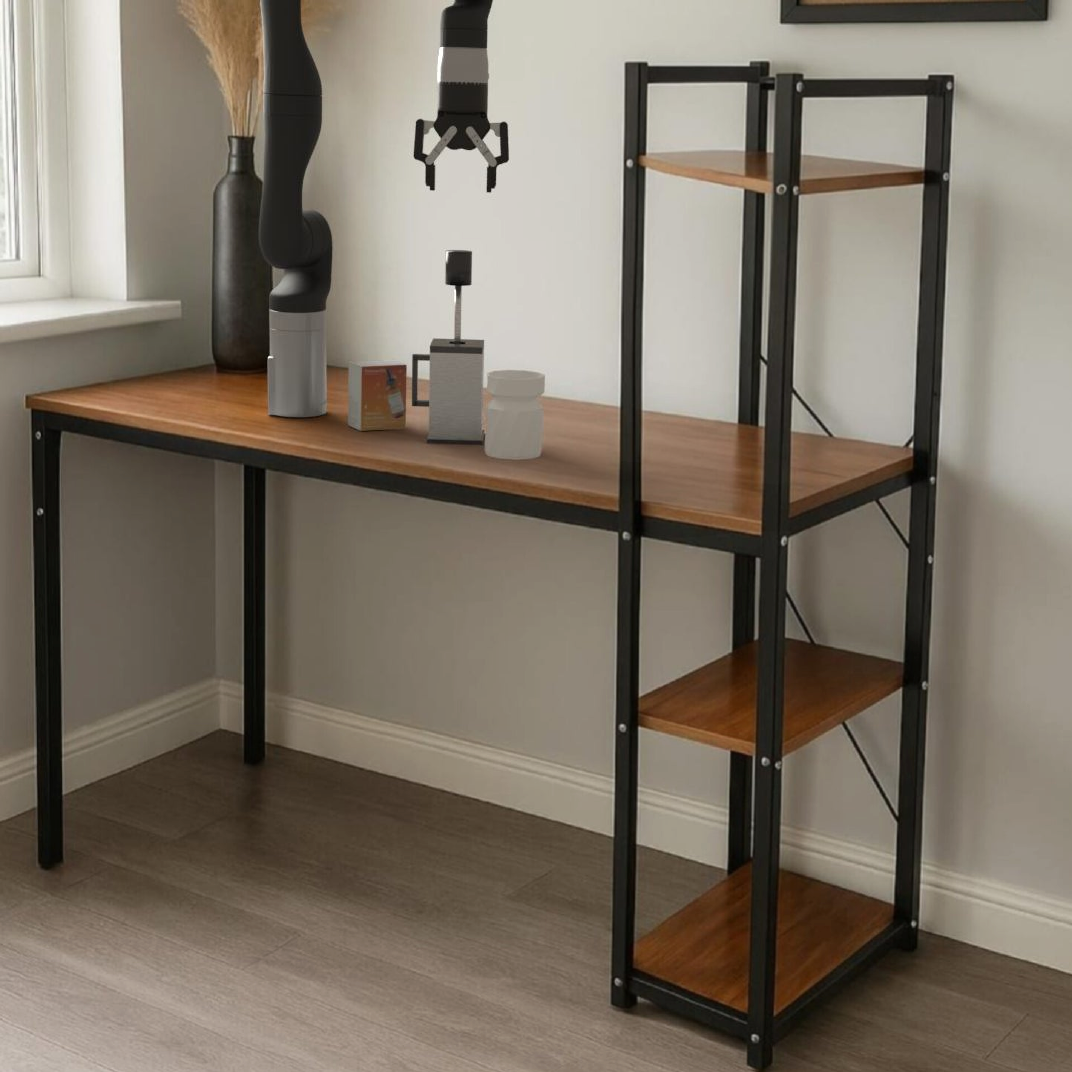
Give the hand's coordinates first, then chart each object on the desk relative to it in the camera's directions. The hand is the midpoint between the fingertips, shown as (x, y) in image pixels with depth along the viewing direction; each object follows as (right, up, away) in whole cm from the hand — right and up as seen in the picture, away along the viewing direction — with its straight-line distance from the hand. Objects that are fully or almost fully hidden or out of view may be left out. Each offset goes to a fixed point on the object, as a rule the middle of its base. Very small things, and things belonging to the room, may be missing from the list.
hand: (460, 191), depth 253 cm
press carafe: (-3, -37, +10) cm, 38 cm away
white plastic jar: (+8, -40, 0) cm, 41 cm away
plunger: (-1, -29, +8) cm, 30 cm away
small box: (-14, -35, +16) cm, 41 cm away
